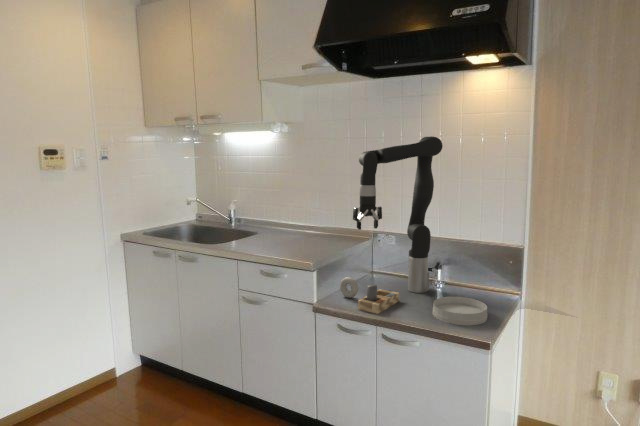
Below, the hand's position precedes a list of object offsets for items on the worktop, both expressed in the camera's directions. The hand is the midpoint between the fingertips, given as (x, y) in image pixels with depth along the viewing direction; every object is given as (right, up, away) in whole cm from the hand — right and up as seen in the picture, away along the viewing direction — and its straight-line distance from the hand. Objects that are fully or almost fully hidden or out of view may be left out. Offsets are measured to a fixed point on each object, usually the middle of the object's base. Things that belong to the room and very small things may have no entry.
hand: (367, 228), depth 221 cm
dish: (+36, -36, -24) cm, 56 cm away
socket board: (+4, -34, -11) cm, 36 cm away
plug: (0, -34, -14) cm, 37 cm away
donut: (-9, -33, 0) cm, 34 cm away
